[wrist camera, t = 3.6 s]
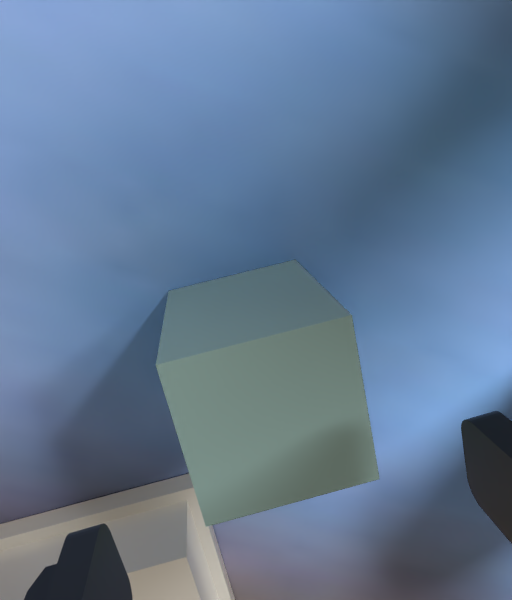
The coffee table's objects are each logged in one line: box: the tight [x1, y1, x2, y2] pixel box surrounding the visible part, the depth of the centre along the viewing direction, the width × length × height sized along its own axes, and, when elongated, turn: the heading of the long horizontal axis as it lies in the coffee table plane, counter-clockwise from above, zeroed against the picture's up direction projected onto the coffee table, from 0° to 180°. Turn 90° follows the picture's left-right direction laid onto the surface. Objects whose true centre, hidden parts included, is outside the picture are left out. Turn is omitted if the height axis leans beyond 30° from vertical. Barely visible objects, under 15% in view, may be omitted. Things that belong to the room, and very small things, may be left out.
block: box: [156, 260, 379, 527], centre depth 16 cm, size 5×5×7 cm
